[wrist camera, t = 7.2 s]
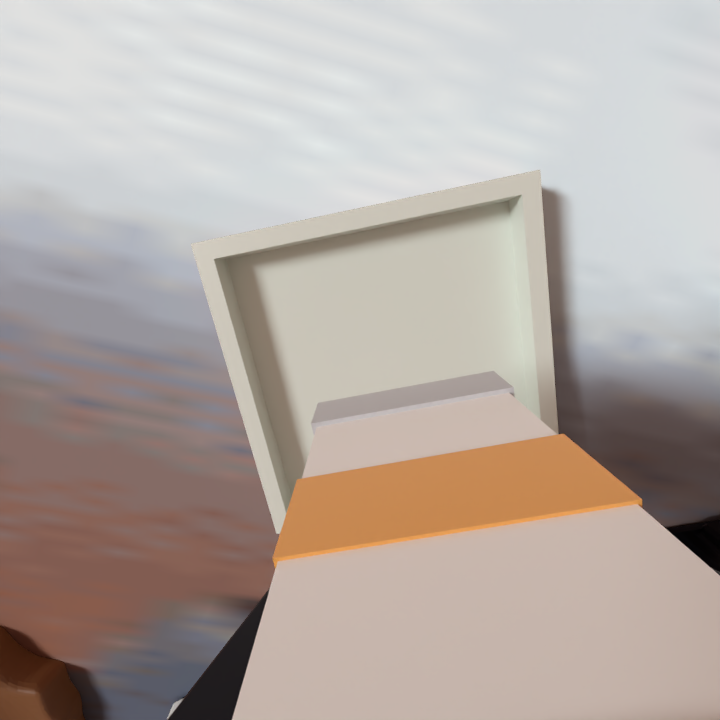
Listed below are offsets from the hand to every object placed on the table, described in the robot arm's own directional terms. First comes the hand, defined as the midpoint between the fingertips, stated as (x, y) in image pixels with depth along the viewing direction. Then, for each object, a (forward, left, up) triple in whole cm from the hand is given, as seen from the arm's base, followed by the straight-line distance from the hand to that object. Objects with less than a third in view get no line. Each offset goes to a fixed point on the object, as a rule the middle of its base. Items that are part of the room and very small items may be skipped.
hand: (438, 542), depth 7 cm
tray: (0, 0, -13) cm, 13 cm away
